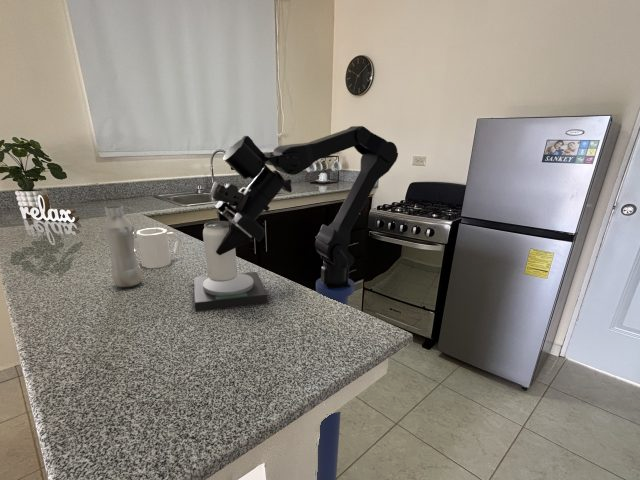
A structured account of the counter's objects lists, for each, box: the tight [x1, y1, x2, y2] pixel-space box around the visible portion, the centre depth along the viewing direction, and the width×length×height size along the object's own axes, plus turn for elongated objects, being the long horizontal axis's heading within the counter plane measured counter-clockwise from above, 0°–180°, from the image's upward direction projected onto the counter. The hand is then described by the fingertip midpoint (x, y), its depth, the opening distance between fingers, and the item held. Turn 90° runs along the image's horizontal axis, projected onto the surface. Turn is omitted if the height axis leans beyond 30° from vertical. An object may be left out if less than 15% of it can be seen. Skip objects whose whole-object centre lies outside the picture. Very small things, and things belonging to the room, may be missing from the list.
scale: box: [193, 271, 268, 313], centre depth 85 cm, size 16×15×3 cm
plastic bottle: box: [102, 205, 143, 288], centre depth 85 cm, size 6×7×20 cm
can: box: [202, 220, 238, 282], centre depth 76 cm, size 6×6×12 cm
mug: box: [135, 227, 182, 269], centre depth 103 cm, size 12×9×10 cm
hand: (213, 249), depth 75 cm, fingers closed on can, 6 cm apart
